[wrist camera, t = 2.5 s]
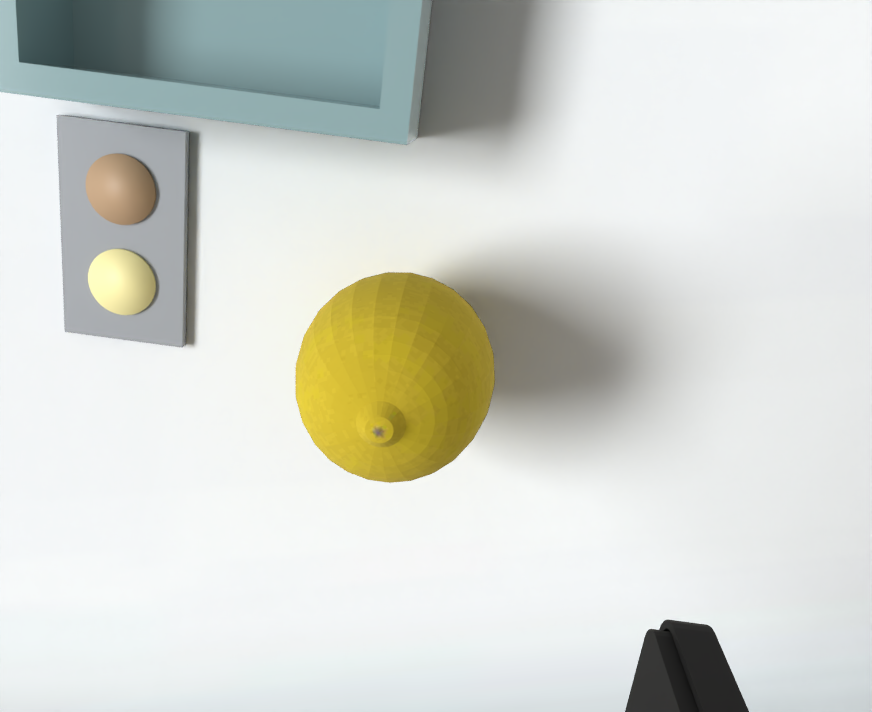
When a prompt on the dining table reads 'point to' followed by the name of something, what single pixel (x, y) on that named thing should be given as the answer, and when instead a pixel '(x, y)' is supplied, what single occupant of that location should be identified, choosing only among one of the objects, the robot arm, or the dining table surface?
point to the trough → (228, 60)
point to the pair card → (124, 229)
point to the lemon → (394, 377)
